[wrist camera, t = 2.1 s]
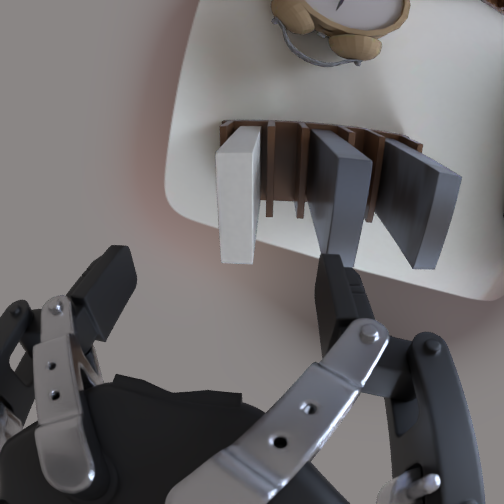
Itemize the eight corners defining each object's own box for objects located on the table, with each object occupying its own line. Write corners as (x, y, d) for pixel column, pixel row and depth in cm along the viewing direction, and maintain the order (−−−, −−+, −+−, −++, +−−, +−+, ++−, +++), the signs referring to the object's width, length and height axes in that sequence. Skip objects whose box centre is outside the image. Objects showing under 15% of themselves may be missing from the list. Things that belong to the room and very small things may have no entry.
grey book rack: (223, 120, 25) (183, 144, 14) (405, 135, 24) (481, 174, 13) (225, 195, 29) (195, 268, 18) (393, 205, 28) (449, 275, 17)
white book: (240, 126, 24) (214, 152, 14) (261, 126, 24) (252, 152, 14) (240, 195, 28) (221, 263, 18) (260, 195, 28) (252, 264, 18)
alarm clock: (423, -17, 12) (377, 88, 17) (402, -1, 17) (356, 95, 22) (316, -74, 10) (244, 22, 15) (308, -51, 15) (245, 41, 20)
